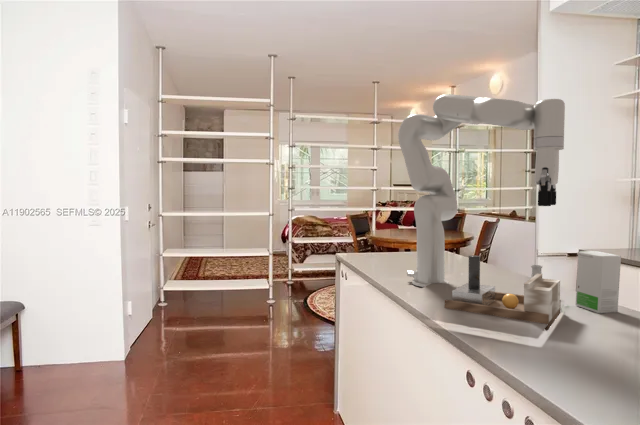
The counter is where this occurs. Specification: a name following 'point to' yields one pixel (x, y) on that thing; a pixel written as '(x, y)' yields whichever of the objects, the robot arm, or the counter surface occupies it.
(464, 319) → the counter surface
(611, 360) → the counter surface
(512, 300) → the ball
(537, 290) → the wooden tray
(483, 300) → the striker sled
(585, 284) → the skincare box
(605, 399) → the counter surface
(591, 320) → the counter surface
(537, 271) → the flask
